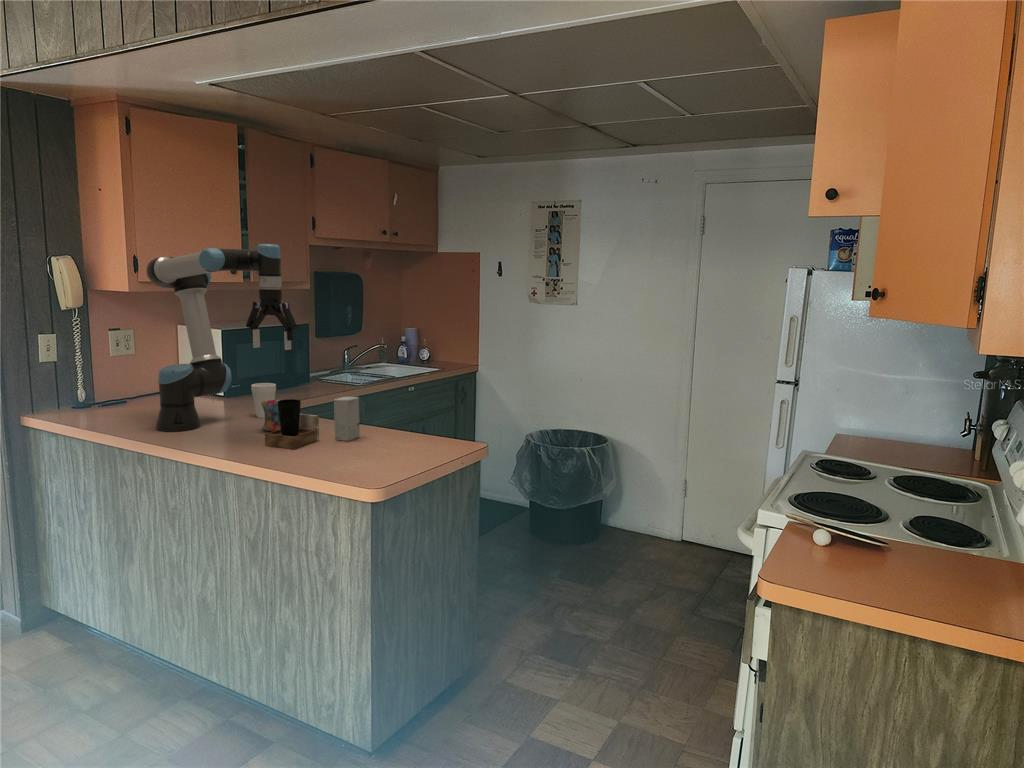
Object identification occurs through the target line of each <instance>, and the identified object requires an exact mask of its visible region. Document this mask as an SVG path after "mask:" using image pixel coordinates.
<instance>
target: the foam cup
mask: <svg viewBox="0 0 1024 768" xmlns="http://www.w3.org/2000/svg"><path fill="white" fill-rule="evenodd" d="M250 390H251V392H252V393H251V394H252V398H253V404H254V409H255V415H256V418H258V419H259V418H261V419H265V413H264V410H263V407H262V405H261V402H263V401H268V400H276V391H277V384H276V383H272V382H260V383H259V382H257V383H253V384H251V388H250Z"/></svg>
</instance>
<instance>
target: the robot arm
mask: <svg viewBox="0 0 1024 768" xmlns="http://www.w3.org/2000/svg"><path fill="white" fill-rule="evenodd" d="M280 248H281V247H280V245H279V244H273V243H260V244H257V249H244V248H243V249H242V248H241V249H238V248H216V247H208V248H204V249H203V248H202V250H201V251H199V252H193V253H189V254H185V255H181V256H180V255H179V256H158V257H155V258H153V259H152V260H150V261H149V263H147V265H146V276H147V278H148V279H149V281H150V282H151V283H152V284H153V285H155V286H157V287H161V288H166V289H173V291H174V295H175V296H177V297H178V298H179V299H180V304H181V307H182V313H183V318H184V323H185V327H186V333H187V338H188V342H189V346H190V347H189V348H190V351H191V356H192V359H191V361H190V362H189V363H178V364H177V363H176V364H172V365H170V364H169V365H166V366H164V367H162V368H161V369H160V370H159V371H158V389H159V404H160V409H159V413H158V415H157V416H158V418H157V420H156V423H155V426H156V427H155V428H156V430H158V431H161V432H182V431H183V432H186V431H191V430H195V429H198V428H200V427H201V426H202V425H201V423H202V422H201V418H200V417H199V415H198V411H197V409H196V405H195V398H199V397H205V396H212V395H213V396H215V395H218V394H222V393H225V392H226V391H227V390H228V389H229V387H230V386H231V384H232V371H231V368H230V367H229V366H228V365H227V364H226V363H223V360H222V357H220V356H219V355H218V354H217V352H216V347H215V341H214V336H213V332H212V327H211V323H210V317H209V312H208V309H207V304H206V303H207V302H206V299H205V294H206V292H208V289H207V287H208V286H210V283H211V280H212V275H211V274H212V273H216V272H224V271H225V272H226V271H227V272H229V271H231V272H234V271H235V272H258V274H257V275H258V287H259V290H258V299H259V301H253V302H252V307H251V310H250V313H249V316H248V318H247V319H248V320H247V322H246V324H245V327H246V328H249V329H250V331H251V332H250V333H251V334H250V335H251V338H252V347H253V348H254V349H256V348H257V349H258V348H261V340H260V339H261V338H260V337H261V336H260V335H261V333H260V328H259V326H260V324H261V323H262V322H263V321H264V319H265V317H266V316H275V318H277V320H278V321H279V323H280V324H281V325H282V326H283V328H284V329H285V331H284V332H283V334H284V337H283V338H284V351H289V350H290V351H291V350H292V341H293V332H294V331H296V330H298V326H297V323H296V320H295V318H294V316H293V314H292V311H291V309H290V304H289V302H283V303H282V301H281V300H282V298H283V295H282V289H281V288H282V270H281V269H282V265H281V264H282V256H281V249H280Z"/></svg>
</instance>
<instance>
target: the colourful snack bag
mask: <svg viewBox="0 0 1024 768" xmlns="http://www.w3.org/2000/svg"><path fill="white" fill-rule="evenodd" d="M280 400H281V399H275V400H268V401H263V402H261V405H262V407H263V410H264V413H265V418H264V424H263V426H262V429H263V430H264V431H266V432H272V431H275V430H279V429H281V426H280V418H279V410H278V403H277V402H278V401H280Z"/></svg>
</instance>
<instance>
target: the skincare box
mask: <svg viewBox="0 0 1024 768" xmlns="http://www.w3.org/2000/svg"><path fill="white" fill-rule="evenodd" d="M333 421H334V440H336V441H343V442H350V441H352V440H354V439H357V438H359V437H360V435H361V433H360V431H361V430H360V397H358V396H342V397H338V398H335V399H333Z"/></svg>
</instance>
